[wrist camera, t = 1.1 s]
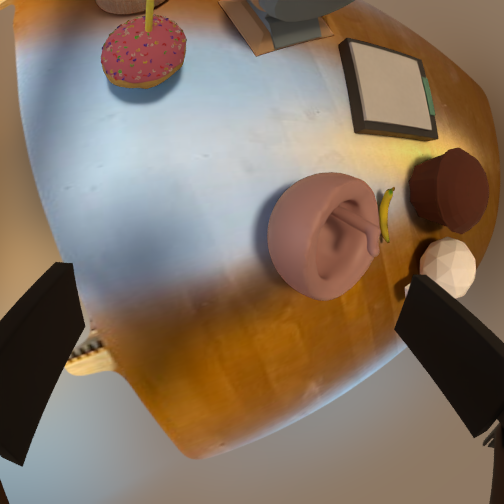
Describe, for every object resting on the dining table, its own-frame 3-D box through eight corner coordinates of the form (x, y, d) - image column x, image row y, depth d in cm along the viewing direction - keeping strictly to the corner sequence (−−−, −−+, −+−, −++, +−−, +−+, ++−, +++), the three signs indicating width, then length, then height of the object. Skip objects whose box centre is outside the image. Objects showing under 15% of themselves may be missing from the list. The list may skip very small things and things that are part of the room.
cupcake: (135, 31, 25) (125, -34, 13) (199, 53, 27) (213, -12, 16) (96, 90, 25) (61, 37, 13) (162, 114, 27) (155, 63, 16)
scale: (338, 44, 31) (349, 35, 28) (411, 64, 34) (424, 58, 31) (354, 132, 33) (368, 128, 30) (427, 141, 36) (441, 138, 33)
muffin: (424, 245, 38) (476, 255, 28) (389, 184, 35) (446, 182, 25) (458, 195, 39) (505, 197, 29) (428, 138, 36) (479, 129, 26)
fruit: (384, 241, 36) (399, 244, 33) (378, 242, 36) (392, 245, 33) (382, 187, 35) (397, 186, 32) (375, 187, 35) (390, 187, 32)
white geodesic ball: (445, 216, 36) (388, 258, 36) (491, 244, 29) (433, 296, 28) (446, 259, 41) (394, 299, 41) (484, 288, 33) (431, 337, 33)
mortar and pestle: (323, 297, 35) (380, 332, 24) (234, 258, 32) (265, 286, 21) (363, 208, 35) (430, 212, 24) (282, 158, 31) (333, 137, 20)
